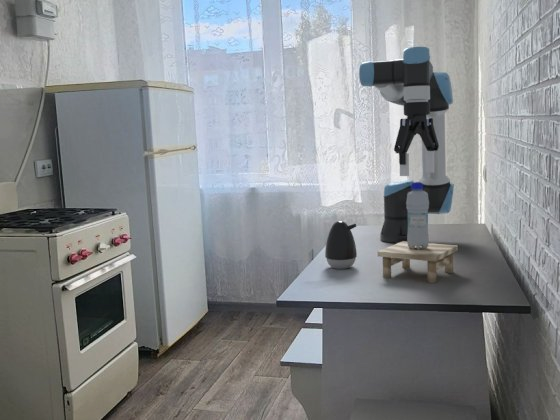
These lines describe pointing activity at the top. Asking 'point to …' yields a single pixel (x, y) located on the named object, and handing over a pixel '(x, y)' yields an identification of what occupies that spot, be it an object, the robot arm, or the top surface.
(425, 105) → the robot arm
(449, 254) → the footstool
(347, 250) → the pump dispenser
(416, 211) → the bottle
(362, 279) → the top surface
